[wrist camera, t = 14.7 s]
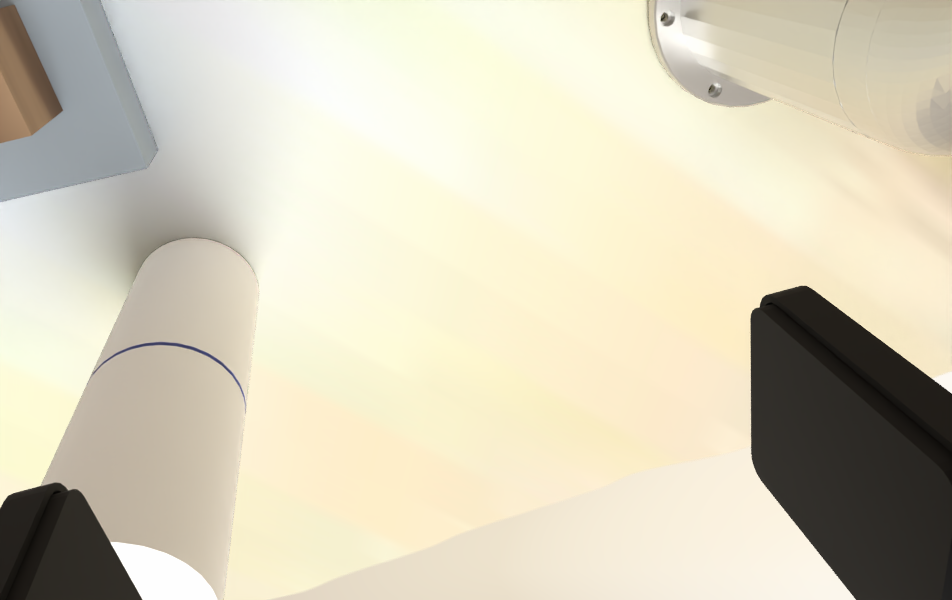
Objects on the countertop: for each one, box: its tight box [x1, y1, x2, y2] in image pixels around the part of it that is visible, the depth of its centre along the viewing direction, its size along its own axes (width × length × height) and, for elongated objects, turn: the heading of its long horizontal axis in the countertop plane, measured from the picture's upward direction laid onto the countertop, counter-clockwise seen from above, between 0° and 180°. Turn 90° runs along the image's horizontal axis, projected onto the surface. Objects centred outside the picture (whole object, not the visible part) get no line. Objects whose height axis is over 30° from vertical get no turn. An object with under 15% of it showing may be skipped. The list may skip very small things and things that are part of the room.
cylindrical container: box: [41, 238, 259, 600], centre depth 36 cm, size 7×7×25 cm
